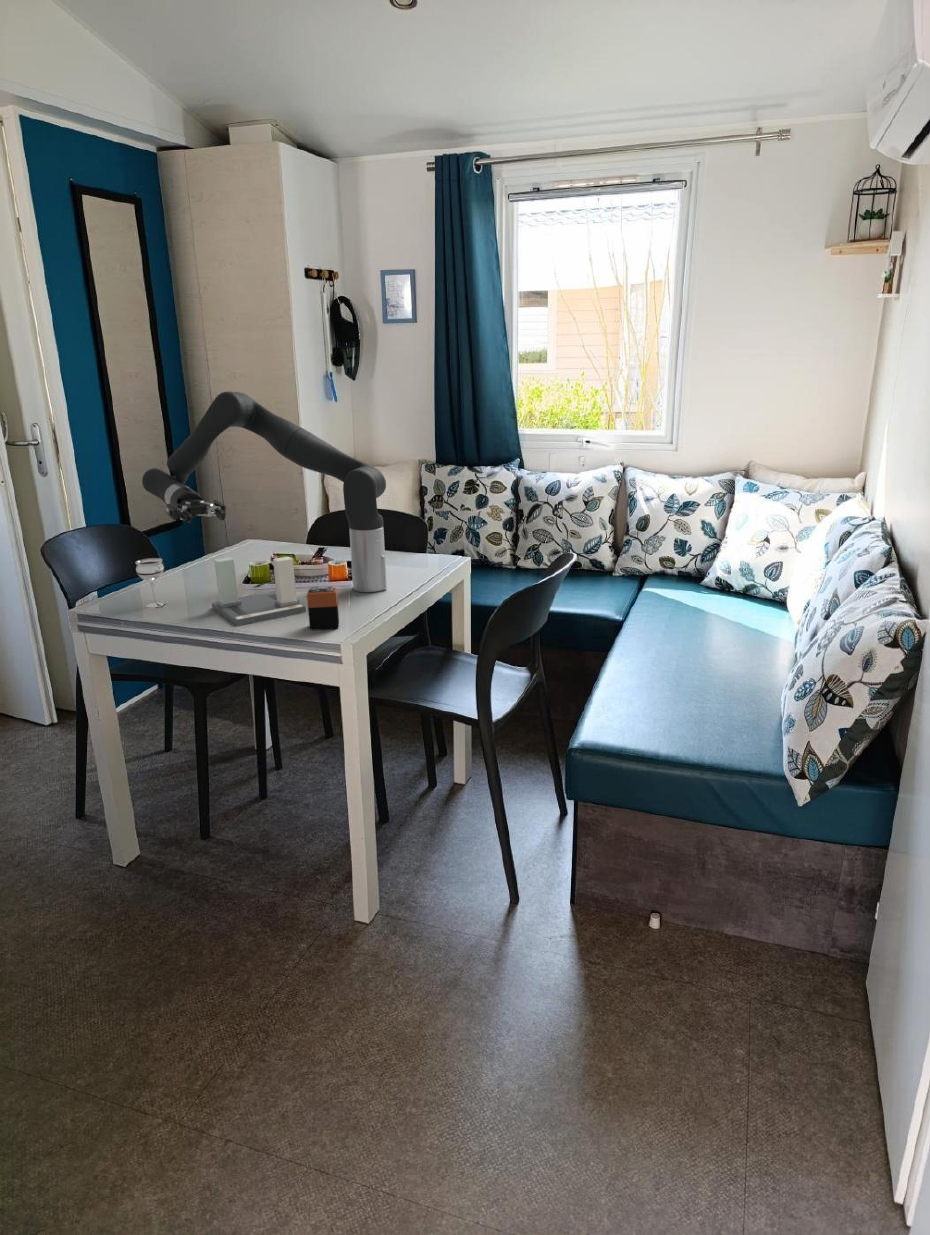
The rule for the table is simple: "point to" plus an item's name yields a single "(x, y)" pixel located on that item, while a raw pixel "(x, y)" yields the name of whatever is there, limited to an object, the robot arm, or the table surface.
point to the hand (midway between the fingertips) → (207, 518)
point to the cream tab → (285, 582)
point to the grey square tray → (257, 609)
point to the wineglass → (150, 573)
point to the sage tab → (226, 582)
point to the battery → (323, 608)
